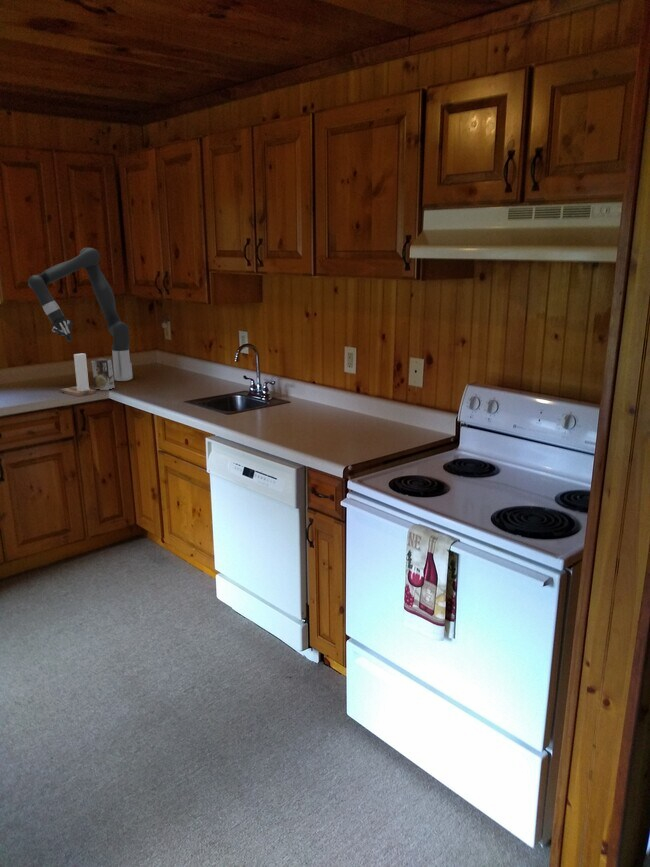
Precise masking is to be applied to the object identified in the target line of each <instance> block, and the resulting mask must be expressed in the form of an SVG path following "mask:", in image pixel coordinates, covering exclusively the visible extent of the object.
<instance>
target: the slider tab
mask: <svg viewBox="0 0 650 867" xmlns="http://www.w3.org/2000/svg"><path fill="white" fill-rule="evenodd" d="M73 360H74V370H75V379H76V381H75V382H76V387H77V391H81V392H83V391H88V390H90V389H91V388H90V385H89V384H90V383H89V375H88V363H87V354H86V353H83V352H82V353H74V354H73Z"/></svg>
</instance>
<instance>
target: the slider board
mask: <svg viewBox="0 0 650 867" xmlns="http://www.w3.org/2000/svg"><path fill="white" fill-rule="evenodd" d="M58 392H59V393H60V392H64V393H63V394H65V393H70V394H73V395H72V396H76V397H83V396H88V395H92V394H96V393H97V390H94V389H92V388H90V390H88V391H83V392H81V391H77V385H76V386H71V387H67V388H61V389H59V390H58ZM70 394H69V395H70Z"/></svg>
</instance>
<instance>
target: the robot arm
mask: <svg viewBox="0 0 650 867" xmlns="http://www.w3.org/2000/svg"><path fill="white" fill-rule="evenodd" d="M100 257H101V255H100V253H99V251H98V250H97V249H95V248H93V247H83V248H82V249H81V250H80V252H79V255H77V256H75V257H73V258H72V259H71V258H70V260H69V259H68V260H66V261H64V262H61V263H58V264H55V265H53V266H51V267H49V268H47V269H45V270H44V271H42V272H41V273H39V274H33V275H31V276H30V277H29V279H28V281H27V284H28V287H29V288H30V289H31V290H33V292H34V294H35V295H36V297H37V298H36V299H37V300H38V302H39V304H40V305H41V307H42V308H43V309H42V310H43V311H44V313H45V315H46V316H47V318H48V319H49V321H50V323H51V324H52V329H51V332H52V333H54V334H56V335H58V336H60V337H62V336H63V337H64V338H65V339H66V341H67V342H71V341H73V340H74V339H73V336H72V335H71V332H72V330H73V320H72V319H71V320H68V319H67V317H65V315H64V313H63V312H62V309H61V308H60V306H59V305H58V303H57V302H56V301H55V299H54V297H53V296H52V294H51V293H50V291H49V289H48V287H47V286H48V285H50V284H52V283H54V282H57V281H58V280H60V279H62V278H64V277H66V276H69V275H70V274H72V273H75V272H77V271H79V270H82V269H85V271H86V273H87V275H88V278H89V281H90V284H91V287H92V290H93V293H94V296H95V298H96V301H97V302H98V304H99V306H100V309H101V311H102V314H103V317H104V319H105V322H106V325H107V329H108V332H109V334H110V335H111V336H112V338H113V340H112V341H113V342H112V343H113V344H112V345H111V351H112V352H111V353H112V364H113V375H114V381H117V382H125V381H130V380H133V378H134V376H133V366H132V362H131V358H130V344H131V342H130V329H129V326H128V324H126V323H125V322H123V321H122V320H121V319H120V317H119V314H118V312H117V308H116V300H115V299H116V298H115V296H114V292H113V289H112V286H111V285H110V283H109V282H108V281H107V279H106V277H105V276H104V273H103V272H102V270H101V267H100V265H99V261H100V259H101V258H100Z"/></svg>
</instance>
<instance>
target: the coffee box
mask: <svg viewBox="0 0 650 867" xmlns="http://www.w3.org/2000/svg"><path fill="white" fill-rule="evenodd" d="M91 369H92V376H93V377H92V378H93V387H94V388H93V390H94V389H100V390H99V391H110V390H109V389H112V388H114V389H115V388H116V387H115V377H114V366H113V358H95V359H92V360H91ZM112 390H113V389H112Z"/></svg>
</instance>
